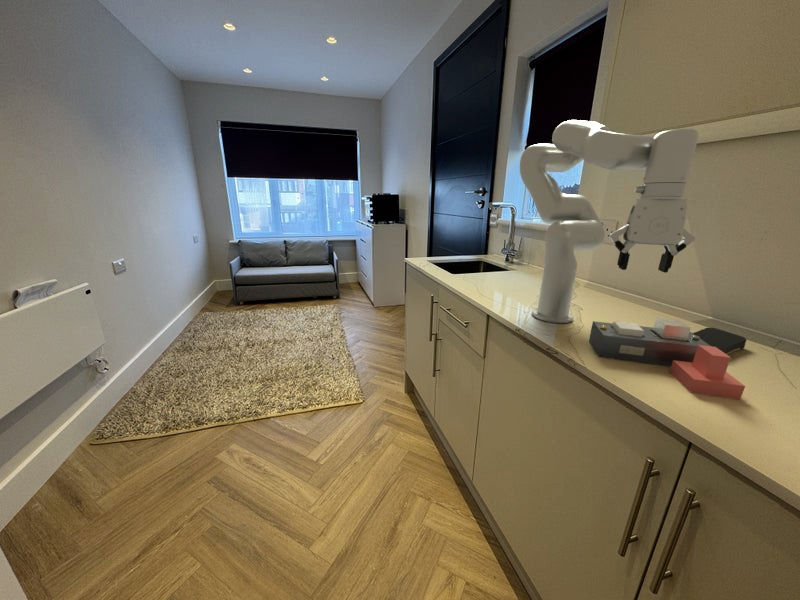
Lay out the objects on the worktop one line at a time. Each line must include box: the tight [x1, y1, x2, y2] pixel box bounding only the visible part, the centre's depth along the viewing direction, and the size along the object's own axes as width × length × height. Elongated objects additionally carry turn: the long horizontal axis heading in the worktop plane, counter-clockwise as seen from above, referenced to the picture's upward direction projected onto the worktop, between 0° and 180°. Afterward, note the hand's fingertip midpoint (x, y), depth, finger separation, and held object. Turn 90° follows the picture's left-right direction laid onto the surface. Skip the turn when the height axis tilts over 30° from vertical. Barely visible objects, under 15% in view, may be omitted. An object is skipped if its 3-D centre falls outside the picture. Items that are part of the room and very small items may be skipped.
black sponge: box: [692, 327, 747, 355], centre depth 85 cm, size 16×8×4 cm, turn 116°
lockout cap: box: [669, 345, 746, 400], centre depth 67 cm, size 8×8×8 cm
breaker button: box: [612, 320, 644, 337], centre depth 81 cm, size 5×5×4 cm
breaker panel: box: [588, 317, 710, 368], centre depth 79 cm, size 10×22×10 cm, turn 73°
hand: (642, 269), depth 76 cm, fingers open, 7 cm apart
